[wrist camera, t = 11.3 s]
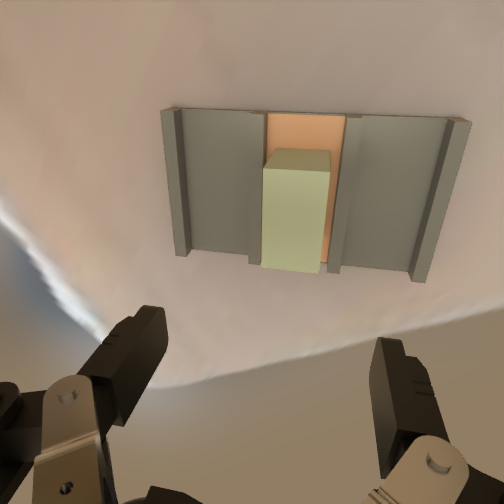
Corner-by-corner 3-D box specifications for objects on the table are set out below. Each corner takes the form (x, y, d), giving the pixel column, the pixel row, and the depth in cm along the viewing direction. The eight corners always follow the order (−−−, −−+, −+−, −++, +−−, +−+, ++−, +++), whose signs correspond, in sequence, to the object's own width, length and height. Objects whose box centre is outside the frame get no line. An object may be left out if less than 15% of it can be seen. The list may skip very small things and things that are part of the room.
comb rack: (183, 245, 33) (175, 255, 31) (170, 107, 27) (160, 110, 25) (419, 270, 29) (424, 283, 28) (461, 118, 24) (472, 122, 22)
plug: (273, 231, 30) (261, 267, 25) (276, 147, 26) (263, 168, 21) (321, 236, 29) (319, 273, 24) (330, 150, 26) (330, 172, 21)
